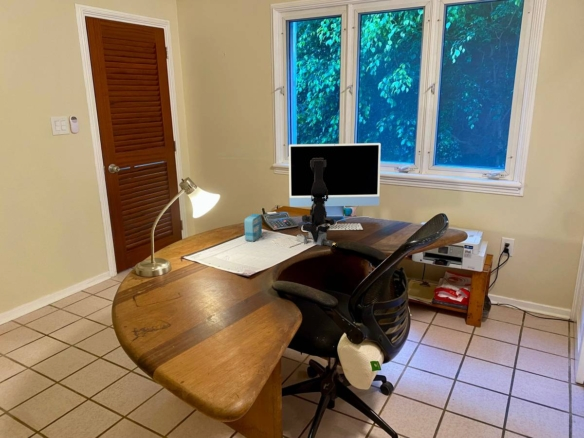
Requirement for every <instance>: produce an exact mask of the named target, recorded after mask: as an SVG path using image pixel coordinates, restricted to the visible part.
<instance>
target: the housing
mask: <svg viewBox="0 0 584 438" xmlns="http://www.w3.org/2000/svg"><path fill="white" fill-rule="evenodd" d="M307 233H308V235H306V234H302V233H298V234H297V235H296V241H298V242H302V243H301V244H303V243H304V244H303V245H305V244H308V242H309V241H308V239H312V240H313V236H312V234H311V232H308V231H307Z"/></svg>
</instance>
